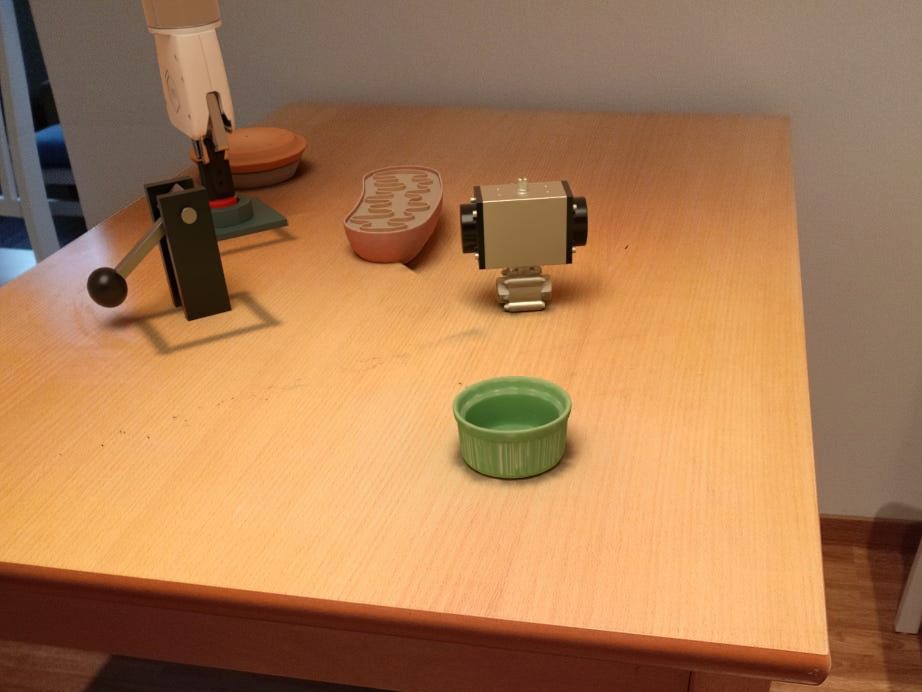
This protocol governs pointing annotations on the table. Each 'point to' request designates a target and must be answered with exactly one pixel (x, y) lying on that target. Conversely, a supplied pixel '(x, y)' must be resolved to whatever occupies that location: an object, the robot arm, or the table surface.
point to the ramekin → (512, 425)
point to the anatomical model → (395, 213)
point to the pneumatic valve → (523, 236)
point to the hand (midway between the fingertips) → (220, 196)
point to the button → (223, 202)
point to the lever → (123, 268)
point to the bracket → (189, 248)
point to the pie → (262, 156)
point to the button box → (245, 218)
